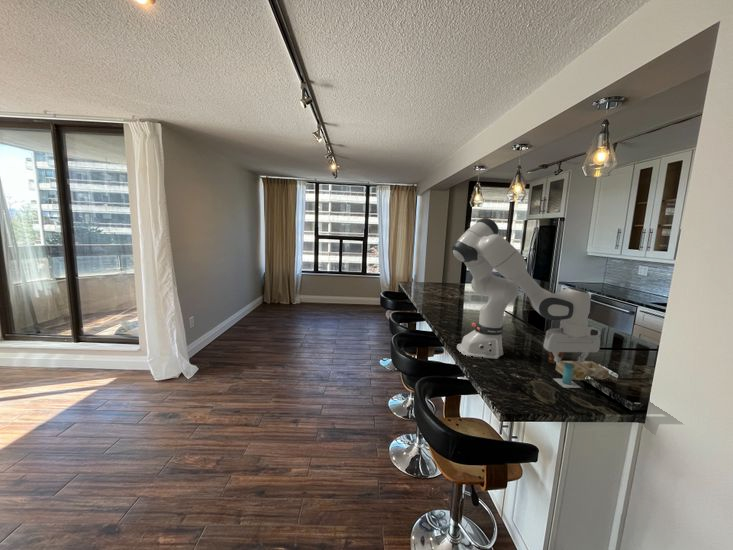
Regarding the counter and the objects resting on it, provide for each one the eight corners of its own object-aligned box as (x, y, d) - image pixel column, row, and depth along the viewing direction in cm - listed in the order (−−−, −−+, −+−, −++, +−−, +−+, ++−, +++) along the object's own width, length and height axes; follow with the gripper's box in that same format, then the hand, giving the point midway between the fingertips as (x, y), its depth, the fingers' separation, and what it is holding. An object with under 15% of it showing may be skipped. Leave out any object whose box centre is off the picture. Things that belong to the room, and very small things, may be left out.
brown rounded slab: (553, 366, 137) (555, 349, 136) (545, 364, 140) (547, 347, 138) (564, 358, 147) (566, 341, 146) (557, 356, 149) (559, 340, 148)
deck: (563, 389, 118) (563, 387, 118) (552, 380, 125) (552, 378, 125) (581, 389, 118) (581, 387, 118) (568, 380, 125) (569, 378, 125)
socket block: (569, 381, 124) (571, 370, 123) (555, 371, 133) (556, 360, 132) (607, 382, 124) (609, 370, 123) (590, 371, 133) (592, 360, 132)
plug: (565, 385, 120) (567, 366, 118) (559, 380, 123) (562, 362, 122) (573, 385, 120) (576, 366, 118) (567, 380, 123) (570, 362, 122)
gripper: (551, 330, 114) (547, 364, 116) (605, 331, 114) (600, 365, 116) (542, 325, 120) (538, 357, 122) (592, 326, 120) (588, 358, 122)
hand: (569, 361), depth 119 cm, fingers open, 8 cm apart
